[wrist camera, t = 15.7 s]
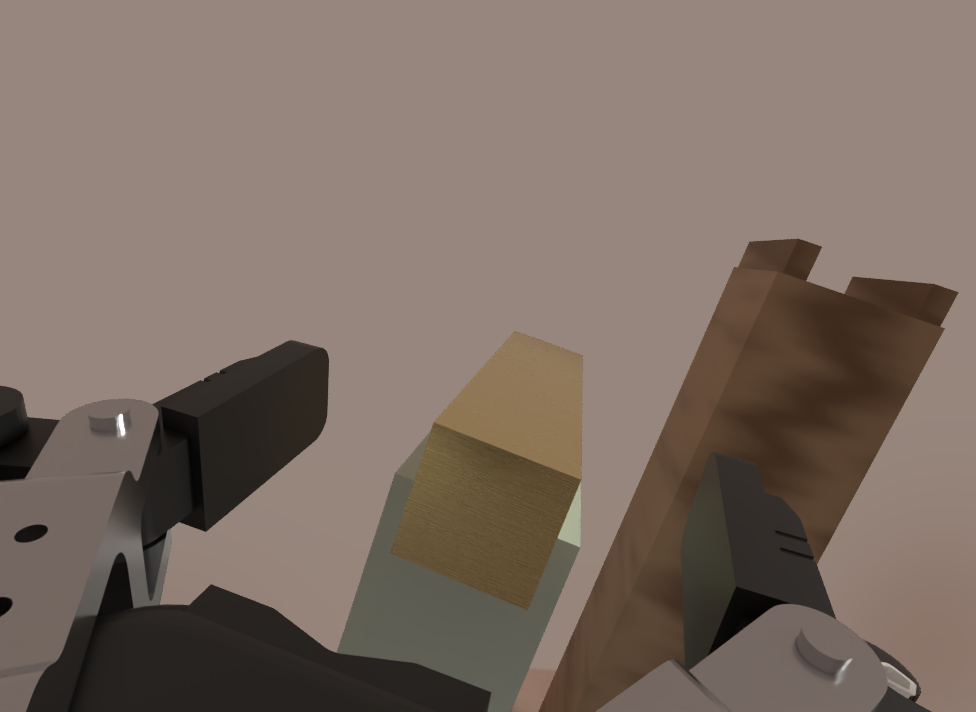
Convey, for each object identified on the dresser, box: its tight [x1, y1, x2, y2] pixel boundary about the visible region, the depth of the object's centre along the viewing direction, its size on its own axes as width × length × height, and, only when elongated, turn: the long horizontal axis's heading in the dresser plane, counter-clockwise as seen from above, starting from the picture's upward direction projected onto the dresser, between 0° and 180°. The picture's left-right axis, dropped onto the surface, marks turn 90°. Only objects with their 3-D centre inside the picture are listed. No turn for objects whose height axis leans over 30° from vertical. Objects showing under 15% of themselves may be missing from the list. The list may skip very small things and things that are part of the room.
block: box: [337, 431, 581, 712], centre depth 23 cm, size 6×8×22 cm
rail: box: [390, 331, 583, 611], centre depth 20 cm, size 4×15×4 cm, turn 170°
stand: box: [539, 239, 958, 712], centre depth 30 cm, size 7×7×34 cm
